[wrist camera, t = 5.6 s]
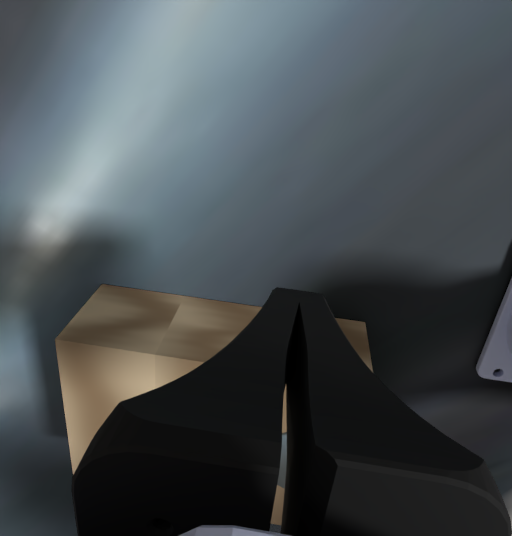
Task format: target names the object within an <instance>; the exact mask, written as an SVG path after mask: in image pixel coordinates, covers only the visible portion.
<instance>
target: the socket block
mask: <svg viewBox="0 0 512 536" xmlns="http://www.w3.org/2000/svg"><path fill="white" fill-rule="evenodd" d="M261 308H262V307H257V306H250V305H244V304H237V303H230V302H223V301H216V300H209V299H202V298H195V297H188V296H181V295H175V294H168V293H161V292H154V291H147V290H140V289H133V288H126V287H119V286H112V285H106V284H102V285H101V286H100V287H99V288H98V289H97V290H96V292H95V293H94V294H93V295H92V296H91V297H90V299H89V300H88V301H87V302H86V303H85V305H84V306H83V307H82V308H81V309H80V310H79V312H78V313H77V314H76V315H75V316H74V317H73V319H72V320H71V321H70V322H69V323H68V324H67V326H66V327H65V328H64V329H63V330H62V332H61V333H60V334H59V335H58V336H57V337H56V339H55V344H56V351H57V359H58V366H59V374H60V381H61V388H62V396H63V403H64V411H65V418H66V426H67V433H68V441H69V448H70V455H71V463H72V470H73V475H74V473H75V471H76V469H77V467H78V465H79V463H80V461H81V459H82V457H83V455H84V453H85V452H86V450H87V448H88V446H89V444H90V442H91V440H92V439H93V437H94V436H95V434H96V432H97V431H98V430H99V428H100V427H101V426H102V424H103V423H104V422H105V420H106V419H107V417H108V416H109V415H110V414H111V412H112V411H113V410H114V408H115V407H116V406H117V405H118V403H119V402H121V401H124V400H127V399H130V398H132V397H135V396H138V395H140V394H143V393H146V392H148V391H151V390H154V389H156V388H158V387H161V386H163V385H165V384H167V383H169V382H172V381H174V380H176V379H178V378H180V377H181V376H183V375H185V374H187V373H189V372H190V371H192V370H194V369H195V368H197V367H198V366H200V365H201V364H203V363H204V362H206V361H207V360H209V359H210V358H211V357H213V356H214V355H215V354H217V353H218V352H219V351H220V350H222V349H223V348H224V347H225V346H227V345H228V344H229V343H230V342H231V341H232V340H233V339H234V338H235V337H236V336H237V335H238V334H239V333H240V332H241V331H242V330H243V329H244V328H245V327H246V326H247V325H248V324H249V323H250V322H251V321H252V319H253V318H254V317H255V316H256V315H257V313H258V312H259V311H260V310H261ZM335 319H336V321H337V323H338V324H339V326H340V328H341V329H342V331H343V333H344V334H345V336H346V337H347V339H348V341H349V342H350V344H351V345H352V346H353V348H354V349H355V351H356V352H357V353H358V355H359V356H360V358H361V359H362V360H363V362H364V363H365V364H366V365H367V367H368V368H369V369H370V370H371V371H372V372H373V368H372V362H371V356H370V349H369V343H368V337H367V330H366V324H365V322H361V321H354V320H347V319H340V318H335ZM286 464H287V423H286V386H285V391H284V398H283V420H282V448H281V460H280V470H279V477H278V483H277V489H276V495H275V500H274V506H273V512H272V518H271V524H277V525H281V523H282V512H283V502H284V490H285V479H286Z"/></svg>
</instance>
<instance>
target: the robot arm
mask: <svg viewBox="0 0 512 536" xmlns="http://www.w3.org/2000/svg"><path fill="white" fill-rule="evenodd" d="M496 369H500V371H498V372H494V370H496ZM476 370H477V373H478V375H479V376H480V377H482V378H485V379H492V380H498V381H505V382H512V278H511V280H510V283H509V285H508V288H507V290H506V293H505V295H504V298H503V300H502V303H501V305H500V308H499V310H498V313H497V315H496V318H495V320H494V323H493V325H492V328H491V330H490V333H489V335H488V338H487V340H486V343H485V345H484V348H483V350H482V353H481V355H480V358H479V360H478V363H477V365H476ZM285 386H286V423H287V464H286V479H285V490H284V502H283V512H282V523H281V534H280V533H274V532H269V529H270V523H271V518H272V512H273V506H274V500H275V495H276V489H277V483H278V477H279V470H280V460H281V448H282V420H283V398H284V391H285ZM72 497H73V504H74V512H75V519H76V526H77V533H78V536H511V534H512V530H511V521H510V517H509V514H508V511H507V509H506V506H505V504H504V501H503V499H502V496H501V494H500V492H499V489H498V487H497V485H496V483H495V481H494V479H493V477H492V475H491V473H490V471H489V469H488V467H487V465H486V463H485V461H484V459H482V458H480V457H479V456H477V455H476V454H474V453H473V452H471V451H469V450H468V449H466V448H465V447H463V446H462V445H460V444H458V443H457V442H455V441H454V440H452V439H451V438H449V437H447V436H446V435H444V434H443V433H441V432H440V431H439V430H437V429H436V428H435V427H433V426H432V425H431V424H429V423H428V422H427V421H425V420H424V419H423V418H421V417H420V416H419V415H418V414H416V413H415V412H414V411H413V410H411V409H410V408H409V407H408V406H407V405H406V404H404V403H403V402H402V401H401V400H400V399H399V398H398V397H397V396H396V395H394V394H393V393H392V392H391V391H390V390H389V389H388V388H387V387H386V386H385V385H384V384H383V383H382V382H381V381H380V380H379V379H378V378H377V376H376V375H375V374H374V373H373V372H372V371H371V370H370V369H369V368H368V367H367V365H366V364H365V363H364V362H363V360H362V359H361V358H360V356H359V355H358V353H357V352H356V351H355V349H354V348H353V346H352V345H351V344H350V342H349V341H348V339H347V337H346V336H345V334H344V333H343V331H342V329H341V328H340V326H339V324H338V323H337V321H336V319H335V317H334V315H333V313H332V311H331V309H330V307H329V305H328V303H327V301H326V299H325V297H324V296H323V294H320V293H313V292H306V291H299V290H292V289H285V288H278V287H277V288H275V289H274V290H272V293H271V295H270V296H269V298H268V300H267V301H266V303H265V304H264V306H263V307H262V308H261V310H260V311H259V312H258V313H257V315H256V316H255V317H254V318H253V319H252V321H251V322H250V323H249V324H248V325H247V326H246V327H245V328H244V329H243V330H242V331H241V332H240V333H239V334H238V335H237V336H236V337H235V338H234V339H233V340H232V341H231V342H230V343H229V344H228V345H227V346H225V347H224V348H223V349H222V350H220V351H219V352H218V353H217V354H215V355H214V356H213V357H211V358H210V359H209V360H207V361H206V362H204V363H203V364H201V365H200V366H198V367H197V368H195V369H194V370H192V371H190V372H189V373H187V374H185V375H183V376H181V377H180V378H178V379H176V380H174V381H172V382H169V383H167V384H165V385H163V386H161V387H158V388H156V389H154V390H151V391H148V392H146V393H143V394H140V395H138V396H135V397H132V398H130V399H127V400H124V401H121V402H119V403H118V405H117V406H116V407H115V408H114V410H113V411H112V412H111V414H110V415H109V416H108V417H107V419H106V420H105V422H104V423H103V424H102V426H101V427H100V428H99V430H98V431H97V432H96V434H95V436H94V437H93V439H92V440H91V442H90V444H89V446H88V448H87V450H86V452H85V453H84V455H83V457H82V459H81V461H80V463H79V465H78V467H77V469H76V471H75V473H74V475H73V477H72Z"/></svg>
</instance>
